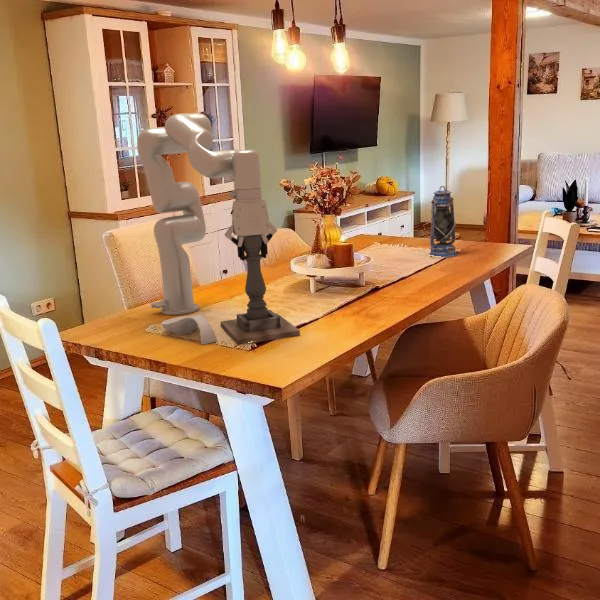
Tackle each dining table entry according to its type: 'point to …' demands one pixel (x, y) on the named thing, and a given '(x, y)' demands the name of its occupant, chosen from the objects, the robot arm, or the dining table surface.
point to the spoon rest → (191, 327)
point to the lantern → (442, 225)
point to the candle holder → (254, 279)
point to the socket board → (259, 328)
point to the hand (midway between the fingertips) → (253, 257)
